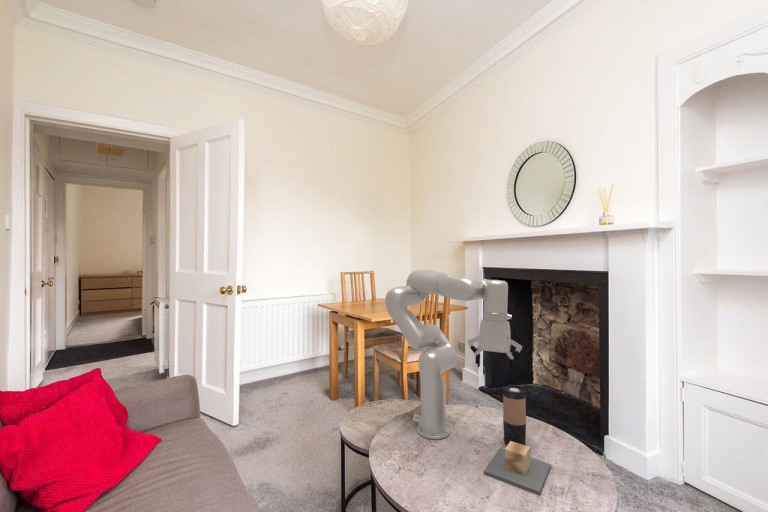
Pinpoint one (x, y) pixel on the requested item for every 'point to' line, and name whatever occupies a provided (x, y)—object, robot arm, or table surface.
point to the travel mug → (514, 414)
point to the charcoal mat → (529, 482)
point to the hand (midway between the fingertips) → (493, 368)
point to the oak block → (517, 458)
